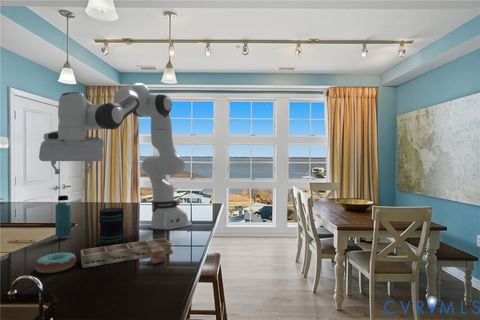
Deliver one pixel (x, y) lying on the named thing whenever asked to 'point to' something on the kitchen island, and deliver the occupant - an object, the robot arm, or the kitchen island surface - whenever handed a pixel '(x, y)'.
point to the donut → (55, 262)
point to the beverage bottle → (63, 217)
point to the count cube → (157, 255)
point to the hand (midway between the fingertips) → (72, 173)
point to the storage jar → (111, 226)
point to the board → (122, 252)
